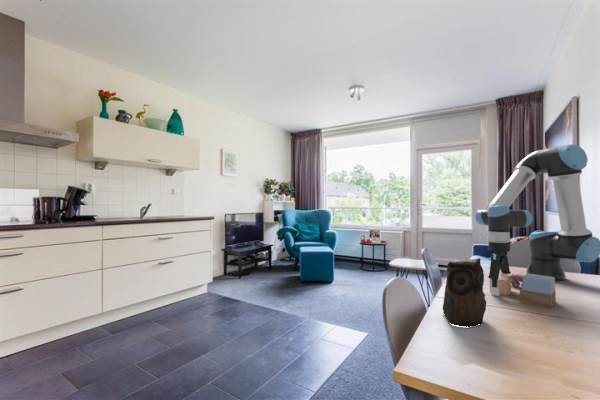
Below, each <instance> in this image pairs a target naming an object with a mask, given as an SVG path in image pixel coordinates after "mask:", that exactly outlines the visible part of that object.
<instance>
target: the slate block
mask: <svg viewBox="0 0 600 400" xmlns="http://www.w3.org/2000/svg"><path fill="white" fill-rule="evenodd" d="M555 282H556V280H555V277H550V276H542V275H535V274H527V273H526V274H525V275H523V287H522V288H523V290H525V291H531V292H537V293H542V294H548V295H551V294H552V293H553V292H554V291H555V292H556V286H555V284H556V283H555Z"/></svg>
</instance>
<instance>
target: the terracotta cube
mask: <svg viewBox="0 0 600 400" xmlns="http://www.w3.org/2000/svg"><path fill="white" fill-rule="evenodd" d="M498 279H499V291H500V295H503V296H509V295H510V294H511V293H512V284H511V278H506V277H501V276H499V277H498ZM489 292H490V293H491V279H490V278H489Z"/></svg>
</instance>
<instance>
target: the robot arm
mask: <svg viewBox="0 0 600 400" xmlns="http://www.w3.org/2000/svg"><path fill="white" fill-rule="evenodd" d="M588 160H589V159H588V155H587V152H586V151H585V150H584V149H583V148H582V147H581V146H579V145H577V144H564V145H560V146H554V147H550V148H543V149H542V148H541V149H538V150H535V151H533V152H531V153H529V154H527V156H525V157H524V158H523V159H521V160H520V161H519V162H518V163H517V164H516V166H515V167H514V168H513V170H512V171H513V173H512V174H511V176H510V177H509V178H508V179H507V181H506V182H505V183H504V184H503V186H502V187H501V189H500V190H499V191H498V193H497V194H496V195H495V197H494V198H493V199H492V200H491V201H490V202H489V204H488V205H487V206H486V208H485V209H478V210H477V211H476V212H475V216H474V217H475V221H476V223H478V224H479V225H483V226H488V232H487V234H486V235H487V236H488V240H489V242H488V250H489V251H491V252H493V253H492V254H490V255H491V256H490V259H491V260H490V267H489V273H488V277H487V278H488V279H489V280H490V279H491V292H490V294H491V295H493V296H497V297H500V295H501V294H500V291H499V279H498V277H506V278H508V276H509V275H512V273H511V270H510V265H509V259H508V253H509V252H510V251H511V243H510V242H511V229H510V228H526V227H530V226H531V225H532V223H533V221H534V218H533V217H534V216H533V214H532V213H531V212H530V211H528V210H524V209H510V207H511V206H512V205H513V203H514V201H515V200H516V199H517V197H519V195H520V194H521V193H522V191H523V190H524V189H525V187H526V186H527V185H528V183H530V181H532V180H534V179H536V177H537V176H538V175H541V174H546V173H547V177H548V178H549V179H551V180H552V183H553V188H554V194H555V200H556V201H555V202H556V208H557V213H558V219H559V225H560V230H558V231H556V230H555V231H542V232H541V231H538V232H537V231H535V232H531V233H530V234H529V256H530V257H529V259H530V261H529V263H528V266H527V268H526V274H535V275H542V276H550V277H555V281H565V280H566V279H567V277H566V273H565V270H564V268H563V266H562V264H561V260H567V261H568V260H569V261H575V262H580V263H581V262H582V263H592V262H594V261H596V260H597V259H598V258H599V256H600V239H599V237H596V236H593V232H592V231H591V230H590V229H588V228H587V223H586V217H585V211H584V206H583V199H582V194H581V192H582V191H581V187H580V186H581V185H580V181H579V176H580V175H581V174H582V173H583V171H582V170H583V169H585V168H586V167H587V165H588ZM500 272H501V273H500Z"/></svg>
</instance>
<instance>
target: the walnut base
mask: <svg viewBox="0 0 600 400" xmlns="http://www.w3.org/2000/svg"><path fill="white" fill-rule="evenodd" d="M556 300H557V296H556V290H555V291H554V292H553V293H552V294H551V295H548V294H542V293H537V292H531V291H525V290H523V287H521V288H520V289H519V302H520V303H522V304H526V305H532V306H537V307H543V308H547V309H553V307H554V306H555V305H556V303H557V301H556Z"/></svg>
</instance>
